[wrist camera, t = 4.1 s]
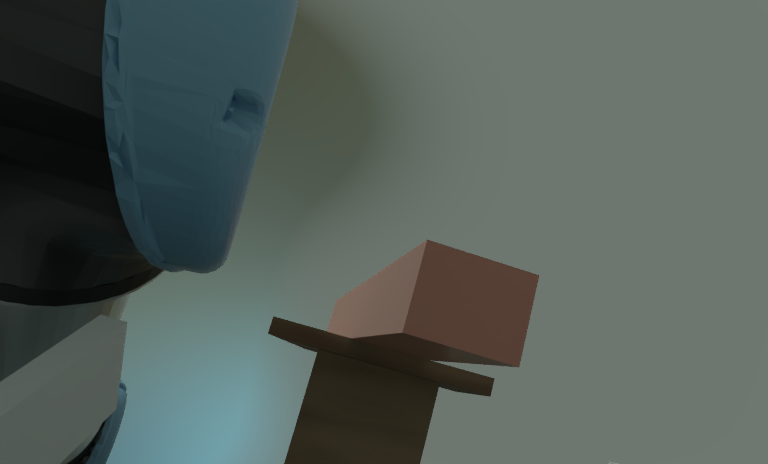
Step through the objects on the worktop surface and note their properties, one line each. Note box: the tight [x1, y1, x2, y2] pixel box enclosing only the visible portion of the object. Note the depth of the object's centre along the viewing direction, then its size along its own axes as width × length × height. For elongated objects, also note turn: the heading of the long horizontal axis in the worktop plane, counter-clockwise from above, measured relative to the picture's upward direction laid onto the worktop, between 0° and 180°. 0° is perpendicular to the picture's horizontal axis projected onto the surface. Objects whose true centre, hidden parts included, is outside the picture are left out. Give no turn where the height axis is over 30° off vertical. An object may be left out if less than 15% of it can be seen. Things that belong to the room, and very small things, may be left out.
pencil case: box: [327, 240, 539, 367], centre depth 37 cm, size 30×4×4 cm, turn 11°
